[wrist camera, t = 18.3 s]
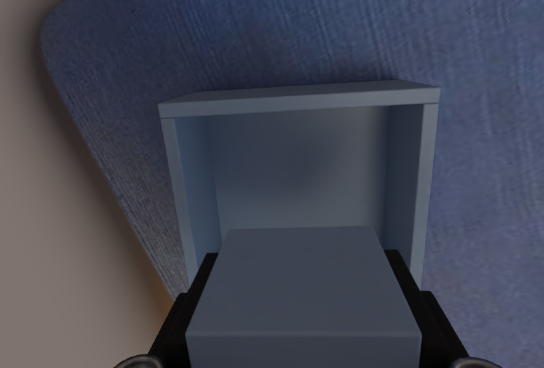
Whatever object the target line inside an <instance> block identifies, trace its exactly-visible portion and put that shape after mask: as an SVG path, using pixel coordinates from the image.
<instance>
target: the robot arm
mask: <svg viewBox="0 0 544 368" xmlns="http://www.w3.org/2000/svg"><path fill="white" fill-rule="evenodd" d="M383 251H384V253H385V255H386V257H387V259H388V262H389V264H390V266H391V268H392V270H393V273H394V275H395V277H396V279H397V281H398V284H399V286H400V288H401V290H402V292H403V294H404V297H405V299H406V301H407V303H408V305H409V308H410V310H411V312H412V314H413V316H414V318H415V321H416V323H417V325H418V327H419V329H420V332H421V334H422V339H421V349H420V359H419V368H502V367H501V366H499V365H497V364H495V363H493V362H491V361H488V360H485V359H481V358H476V357H470V356H469V355H468V353H467V351H466V350H465V348H464V346H463V345H462V343H461V341H460V339H459V338H458V336H457V334H456V333H455V331H454V329H453V327H452V326H451V324H450V322H449V321H448V319H447V317H446V315H445V314H444V312H443V310H442V309H441V307H440V305H439V303H438V302H437V300H436V298H435V297H434V295H433V294H432V292H430V291H420V289H419V288H418V286H417V284H416V282H415V280H414V278H413V276H412V275H411V273H410V271H409V269H408V267H407V265H406V263H405V262H404V260H403V258H402V256H401V254H400V252H399V251H398V250H397V249H387V250H383ZM218 254H219V253H207V254H206V255H205V257H204V259H203V261H202V264H201V266H200V268H199V270H198V272H197V274H196V276H195V278H194V280H193V282H192V284H191V286H190V288H189V290H188V293H180V294H179V295H178V297H177V298H176V300H175V302H174V304H173V306H172V308H171V310H170V312H169V314H168V316H167V318H166V319H165V321H164V323H163V325H162V327H161V329H160V331H159V333H158V335H157V337H156V339H155V341H154V343H153V345H152V347H151V348H150V351H149V352H148V354H141V355H136V356H133V357H130V358H128V359H126V360H124V361H122V362H120V363H119V364H118V365H116V366H115V367H114V368H191V363H190V358H189V352H188V347H187V341H186V336H185V334H186V331H187V328H188V326H189V324H190V321H191V319H192V316H193V314H194V312H195V309H196V307H197V304H198V302H199V300H200V297H201V295H202V292H203V290H204V288H205V285H206V283H207V280H208V278H209V276H210V273H211V271H212V268H213V266H214V264H215V261H216V259H217V256H218Z"/></svg>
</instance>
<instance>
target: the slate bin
mask: <svg viewBox="0 0 544 368" xmlns="http://www.w3.org/2000/svg"><path fill="white" fill-rule="evenodd" d="M440 89H441V88H440V87H437V86H432V85H426V84H421V83H416V82H410V81H405V80H399V79H398V80H382V81H366V82H349V83H333V84H317V85H301V86H284V87H268V88H252V89H236V90H219V91H203V92H194V93H191V94H188V95H184V96H181V97H178V98H175V99H172V100H168V101H165V102H162V103H159V104H158V109H159V115H160V118H161V125H162V131H163V137H164V143H165V148H166V154H167V160H168V166H169V172H170V177H171V183H172V189H173V195H174V200H175V206H176V212H177V218H178V224H179V229H180V235H181V241H182V247H183V252H184V258H185V264H186V270H187V276H188V281H189V287H190V286H191V284H192V282H193V280H194V278H195V276H196V274H197V272H198V270H199V268H200V266H201V264H202V261H203V259H204V257H205V255H206V254H207V253H219V252H220V249H221V247H222V244H223V242H224V240H225V237H226V235H227V232H228V230H230V229H261V228H302V227H343V226H372V227H373V229H374V231H375V233H376V235H377V238H378V240H379V242H380V244H381V246H382V249H383V250H387V249H397V250H398V251H399V252H400V254H401V256H402V258H403V260H404V262H405V263H406V265H407V267H408V269H409V271H410V273H411V275H412V276H413V278H414V280H415V282H416V284H417V286H418V288H419V289H420V290H421V280H422V270H423V260H424V250H425V239H426V229H427V219H428V209H429V199H430V189H431V179H432V169H433V158H434V148H435V138H436V128H437V118H438V108H439V104H438V102H439V99H440Z"/></svg>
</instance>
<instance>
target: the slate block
mask: <svg viewBox="0 0 544 368" xmlns="http://www.w3.org/2000/svg"><path fill="white" fill-rule="evenodd" d="M185 336H186V341H187V347H188V352H189V358H190V363H191V368H419V359H420V349H421V339H422V334H421V332H420V329H419V327H418V325H417V323H416V321H415V318H414V316H413V314H412V312H411V310H410V308H409V305H408V303H407V301H406V299H405V297H404V294H403V292H402V290H401V288H400V286H399V284H398V281H397V279H396V277H395V275H394V273H393V270H392V268H391V266H390V264H389V262H388V259H387V257H386V255H385V253H384V251H383V249H382V246H381V244H380V242H379V240H378V238H377V235H376V233H375V231H374V229H373V227H372V226H343V227H302V228H261V229H230V230H228V232H227V235H226V237H225V240H224V242H223V244H222V247H221V249H220V252H219V254H218V256H217V259H216V261H215V264H214V266H213V268H212V271H211V273H210V276H209V278H208V280H207V283H206V285H205V288H204V290H203V292H202V295H201V297H200V300H199V302H198V304H197V307H196V309H195V312H194V314H193V316H192V319H191V321H190V324H189V326H188V328H187V331H186V334H185Z"/></svg>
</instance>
